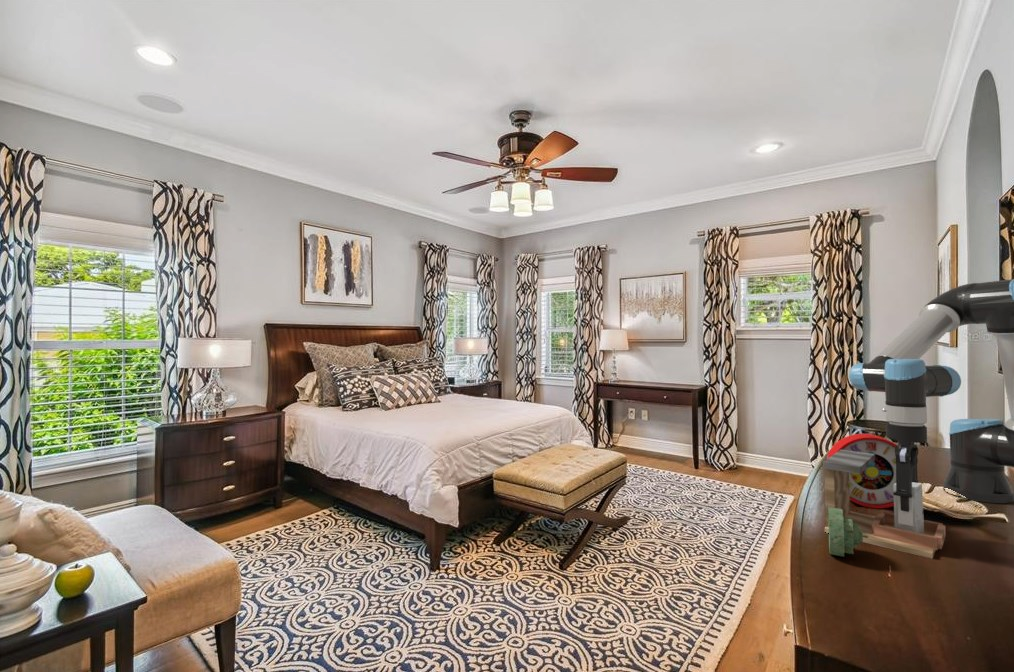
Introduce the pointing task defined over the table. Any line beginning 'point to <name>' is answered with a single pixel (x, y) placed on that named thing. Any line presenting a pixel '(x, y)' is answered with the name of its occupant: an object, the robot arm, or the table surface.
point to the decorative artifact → (842, 533)
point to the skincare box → (917, 510)
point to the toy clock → (871, 470)
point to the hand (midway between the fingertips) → (908, 519)
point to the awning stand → (882, 524)
